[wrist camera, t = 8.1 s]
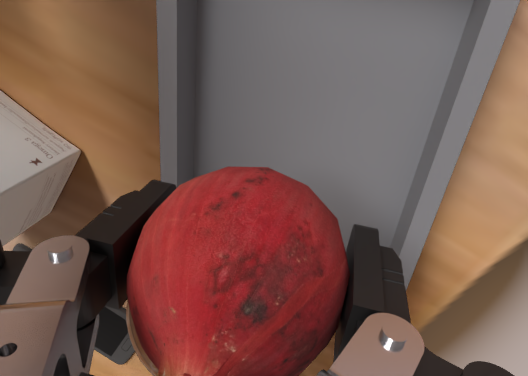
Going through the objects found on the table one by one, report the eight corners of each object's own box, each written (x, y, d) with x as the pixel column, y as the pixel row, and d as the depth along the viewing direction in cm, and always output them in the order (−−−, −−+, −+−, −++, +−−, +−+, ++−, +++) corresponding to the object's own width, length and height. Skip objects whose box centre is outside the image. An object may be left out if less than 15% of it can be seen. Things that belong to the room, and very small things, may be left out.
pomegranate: (271, 93, 12) (146, 233, 5) (386, 219, 13) (416, 481, 6) (165, 193, 15) (-13, 377, 8) (267, 291, 16) (193, 530, 9)
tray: (187, -101, 18) (153, -119, 15) (516, -68, 16) (552, -82, 13) (184, 234, 28) (162, 263, 25) (390, 282, 26) (394, 320, 23)
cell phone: (126, 361, 38) (122, 367, 37) (4, 284, 36) (-3, 290, 36) (155, 323, 34) (151, 330, 33) (20, 237, 33) (13, 242, 32)
